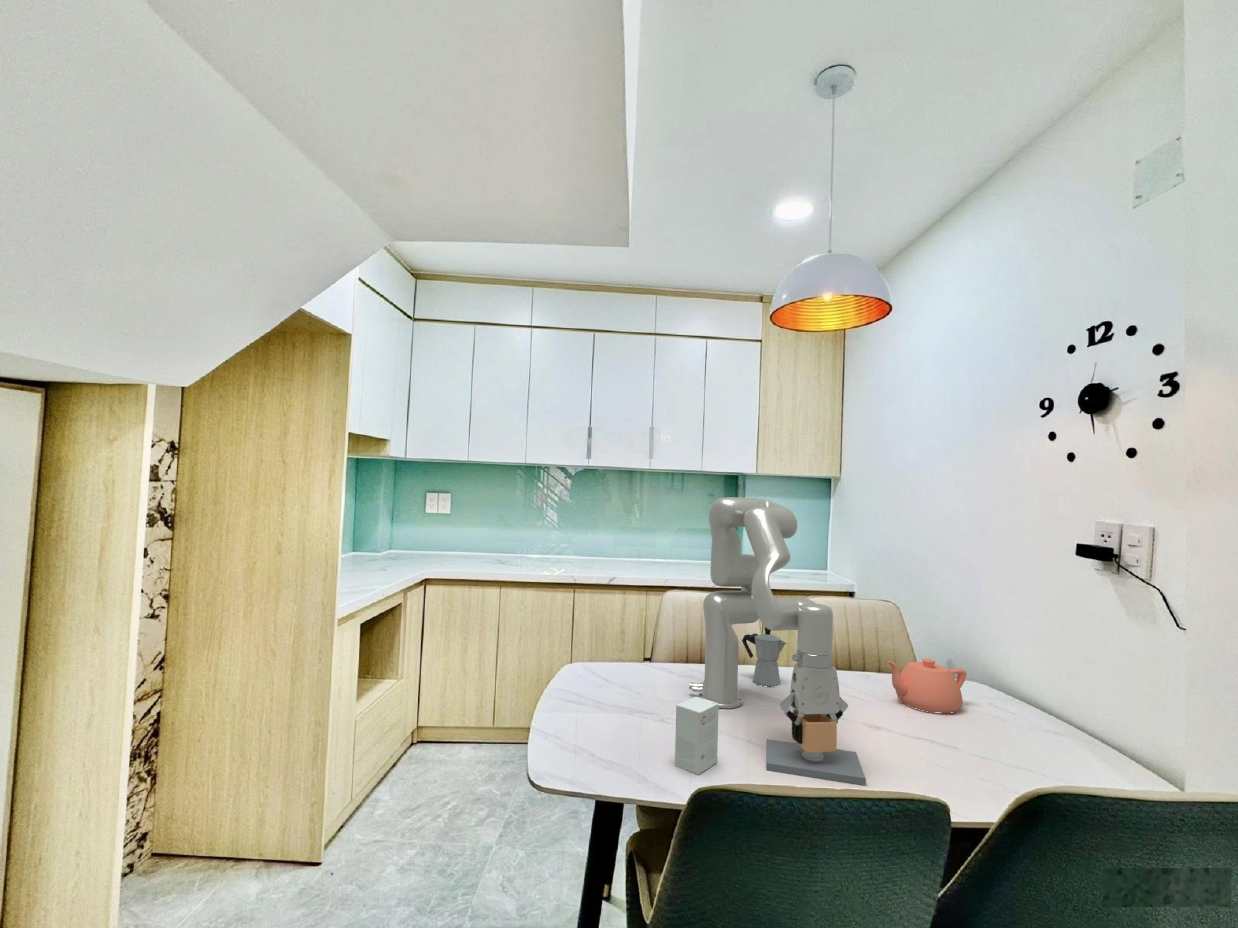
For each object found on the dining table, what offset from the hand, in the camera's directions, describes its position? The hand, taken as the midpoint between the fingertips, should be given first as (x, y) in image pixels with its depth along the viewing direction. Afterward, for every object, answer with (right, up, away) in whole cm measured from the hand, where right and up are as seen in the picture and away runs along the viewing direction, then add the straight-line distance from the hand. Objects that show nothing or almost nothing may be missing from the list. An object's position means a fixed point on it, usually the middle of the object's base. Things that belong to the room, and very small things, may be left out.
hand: (813, 740), depth 126 cm
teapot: (+48, -10, +42) cm, 64 cm away
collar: (0, -1, 0) cm, 1 cm away
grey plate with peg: (0, -5, 0) cm, 5 cm away
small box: (-27, -4, -2) cm, 27 cm away
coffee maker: (+3, -9, +57) cm, 58 cm away
